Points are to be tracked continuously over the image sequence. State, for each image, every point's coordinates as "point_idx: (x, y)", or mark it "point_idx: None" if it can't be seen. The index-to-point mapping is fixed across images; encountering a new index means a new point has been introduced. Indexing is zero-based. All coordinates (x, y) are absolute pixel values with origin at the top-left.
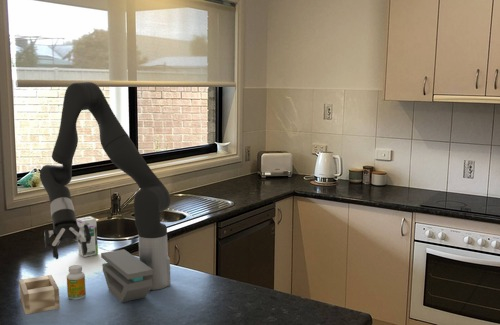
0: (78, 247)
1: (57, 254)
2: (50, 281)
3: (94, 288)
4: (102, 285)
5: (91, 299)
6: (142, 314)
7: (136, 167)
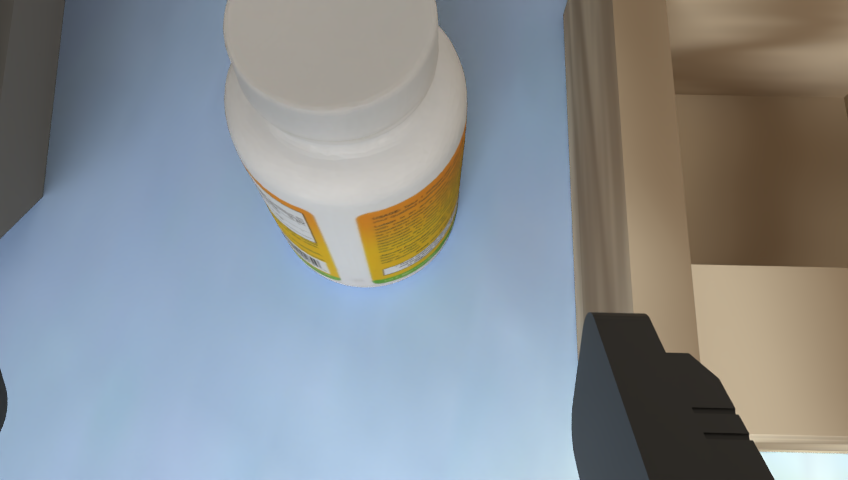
0: None
1: (616, 324)
2: (676, 145)
3: (139, 346)
4: (28, 395)
5: None
6: None
7: None
